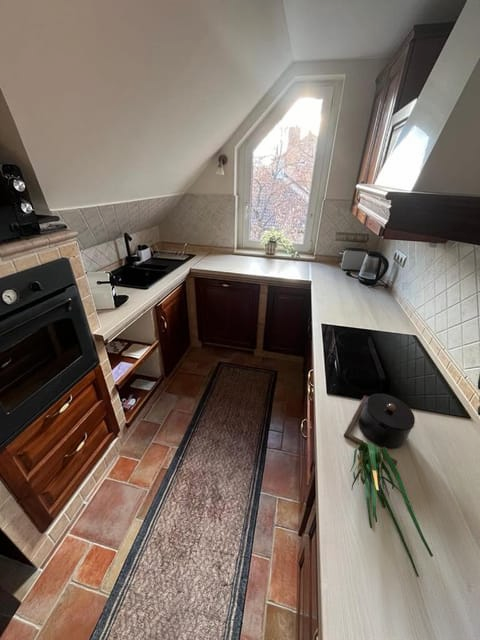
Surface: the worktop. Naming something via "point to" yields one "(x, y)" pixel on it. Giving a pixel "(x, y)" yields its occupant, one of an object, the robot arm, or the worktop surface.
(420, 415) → the worktop surface
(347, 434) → the brown bent strip
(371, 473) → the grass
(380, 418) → the pot
